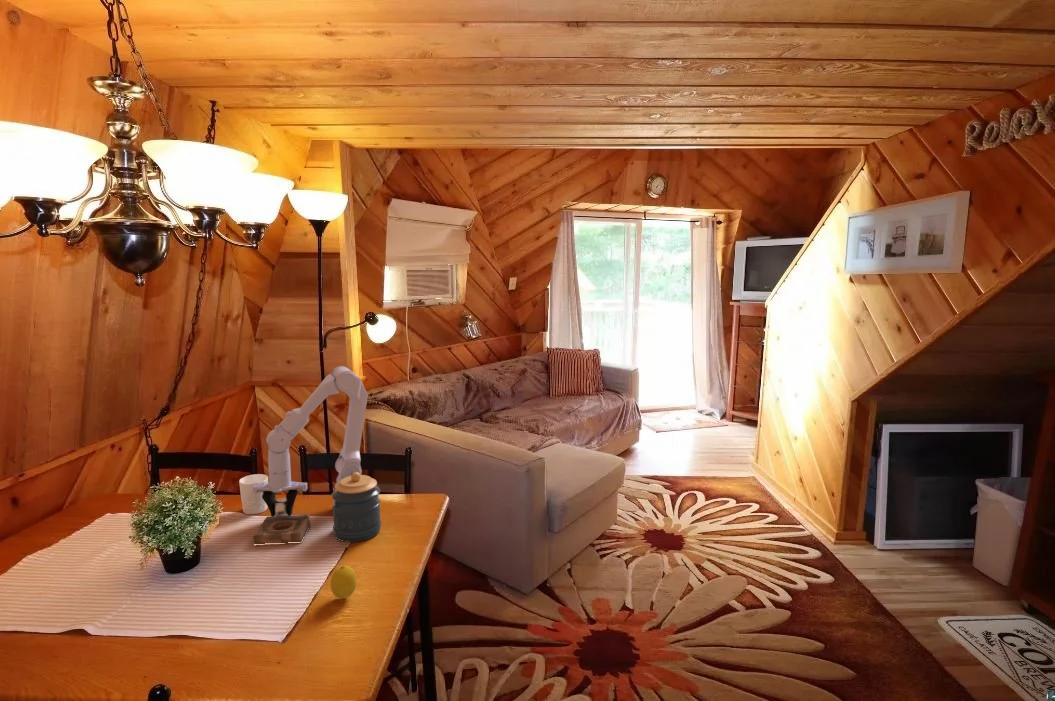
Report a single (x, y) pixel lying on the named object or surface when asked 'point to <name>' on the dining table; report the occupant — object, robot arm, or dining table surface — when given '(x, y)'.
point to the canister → (356, 508)
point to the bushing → (281, 507)
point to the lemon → (343, 582)
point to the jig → (282, 529)
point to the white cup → (252, 494)
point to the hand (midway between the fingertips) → (281, 514)
